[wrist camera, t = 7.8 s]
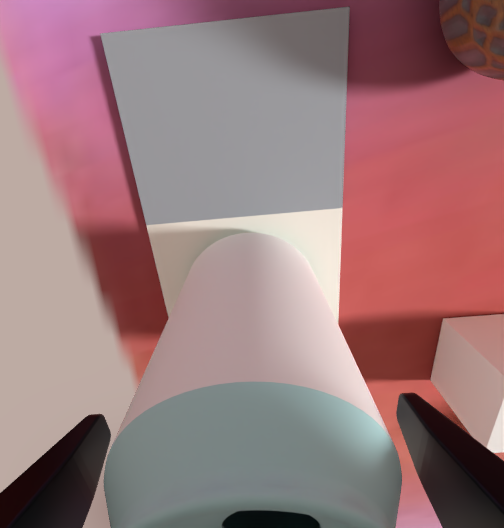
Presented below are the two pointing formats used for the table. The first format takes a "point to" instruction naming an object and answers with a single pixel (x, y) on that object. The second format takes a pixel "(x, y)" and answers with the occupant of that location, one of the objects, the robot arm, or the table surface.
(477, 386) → the die
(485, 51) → the vase
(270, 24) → the board
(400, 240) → the table surface
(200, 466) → the can
